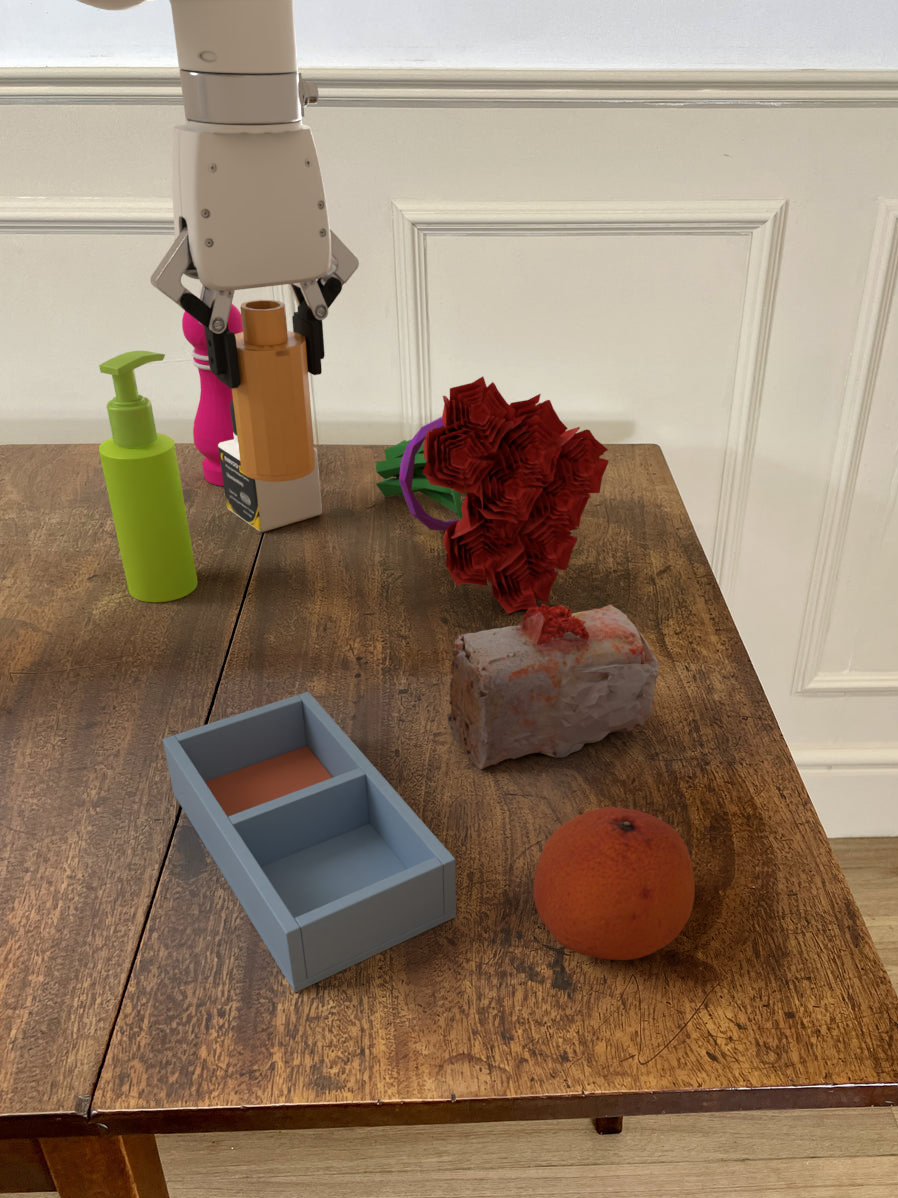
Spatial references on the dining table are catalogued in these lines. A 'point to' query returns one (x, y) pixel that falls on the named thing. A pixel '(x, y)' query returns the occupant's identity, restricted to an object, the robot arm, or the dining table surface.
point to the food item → (549, 684)
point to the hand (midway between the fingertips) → (269, 374)
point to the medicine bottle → (266, 491)
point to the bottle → (272, 396)
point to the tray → (310, 837)
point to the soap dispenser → (145, 491)
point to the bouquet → (499, 488)
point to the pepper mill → (210, 397)
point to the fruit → (614, 884)
